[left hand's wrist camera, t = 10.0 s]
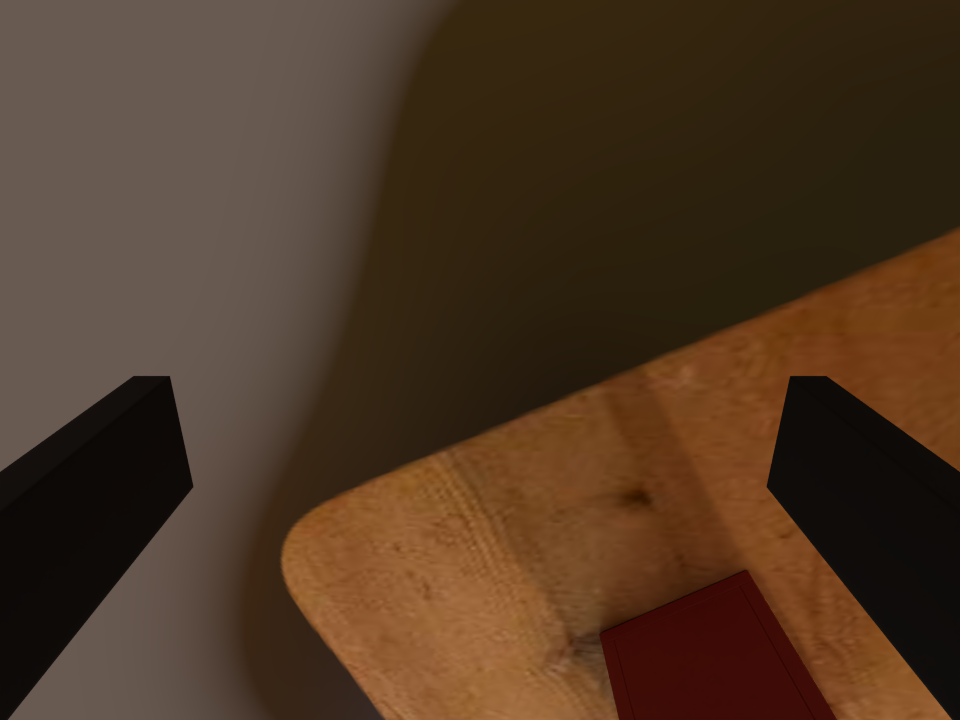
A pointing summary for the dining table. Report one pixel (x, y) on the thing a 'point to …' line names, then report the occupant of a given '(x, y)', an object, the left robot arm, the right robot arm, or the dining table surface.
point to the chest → (710, 661)
